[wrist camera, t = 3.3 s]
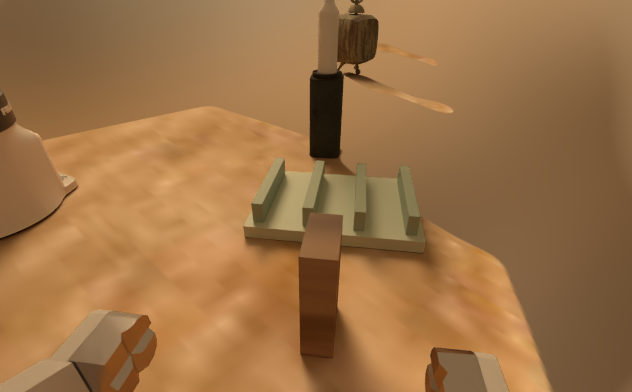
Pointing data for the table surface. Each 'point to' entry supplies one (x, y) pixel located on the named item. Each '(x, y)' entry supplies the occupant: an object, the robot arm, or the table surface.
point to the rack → (338, 207)
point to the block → (319, 283)
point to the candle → (326, 88)
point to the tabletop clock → (356, 37)
